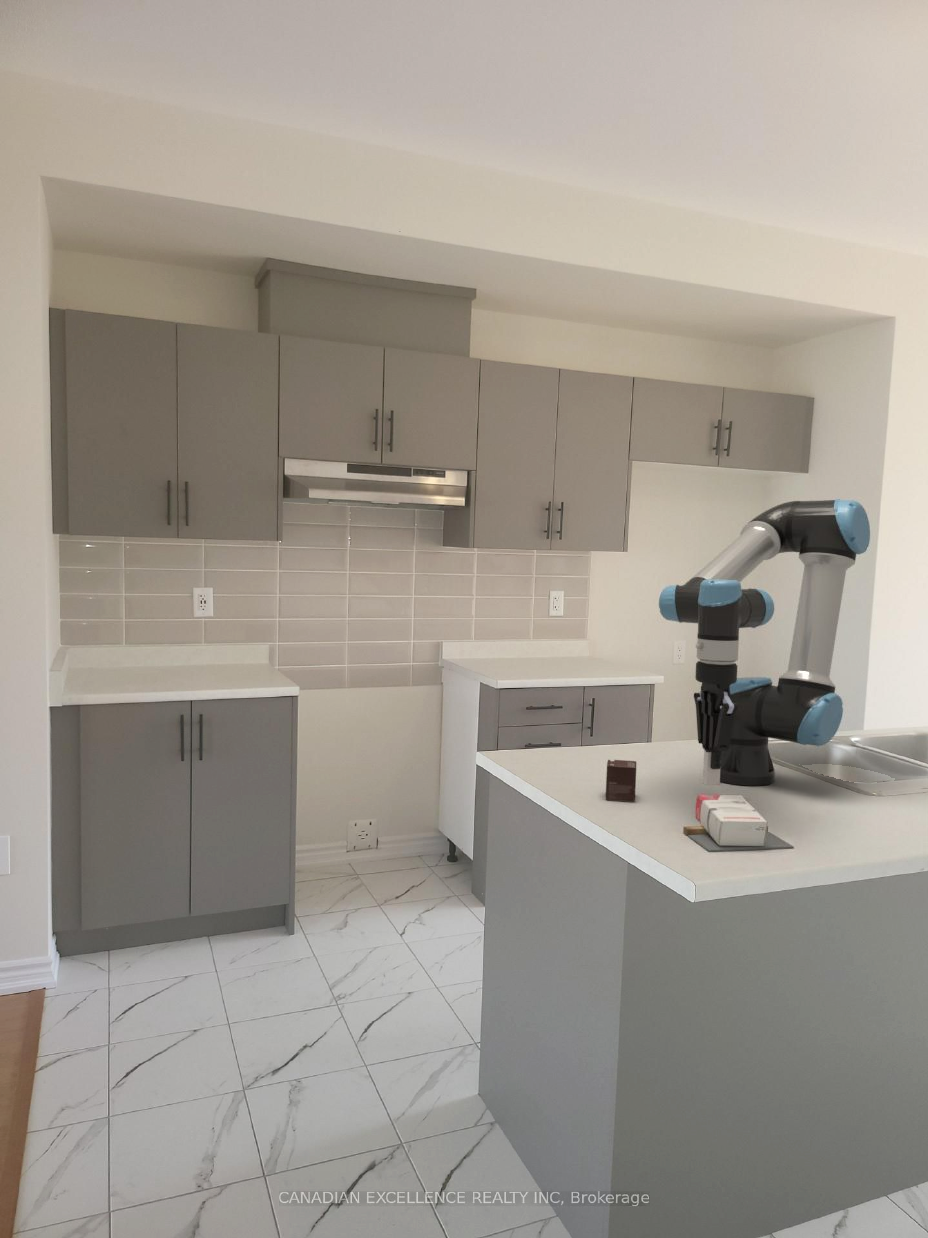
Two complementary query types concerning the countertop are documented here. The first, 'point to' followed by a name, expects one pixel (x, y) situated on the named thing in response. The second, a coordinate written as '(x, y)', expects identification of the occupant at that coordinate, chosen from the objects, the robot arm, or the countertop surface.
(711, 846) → the mat
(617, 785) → the box
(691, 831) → the batten
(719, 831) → the ink box
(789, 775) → the countertop surface
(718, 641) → the robot arm
